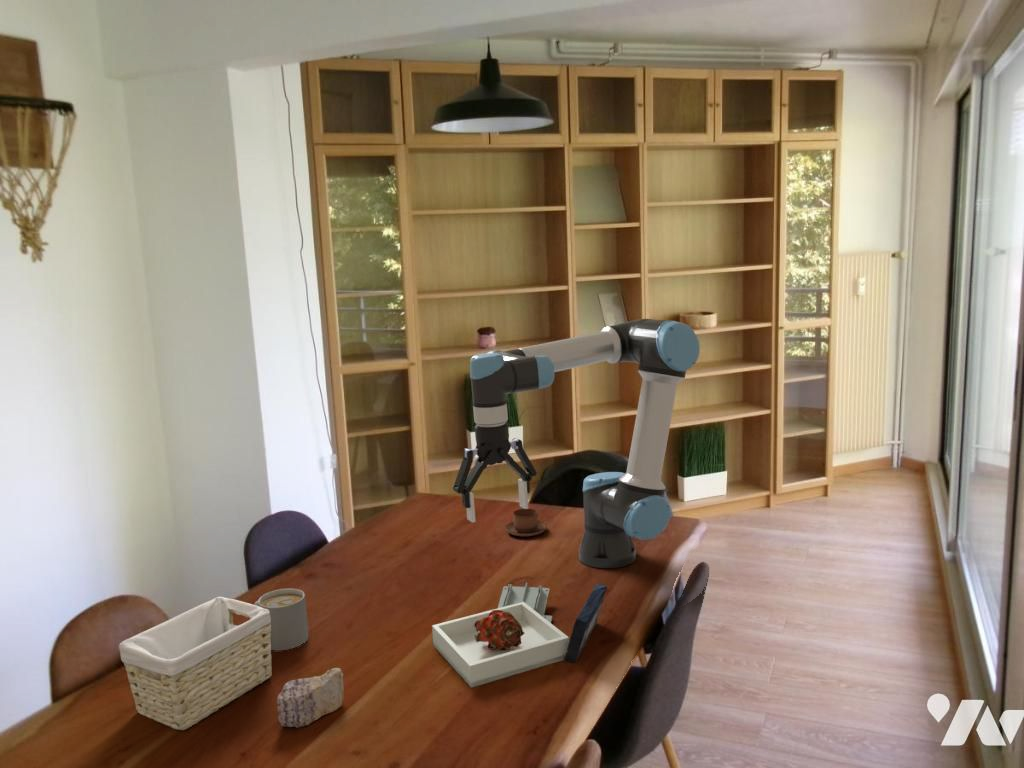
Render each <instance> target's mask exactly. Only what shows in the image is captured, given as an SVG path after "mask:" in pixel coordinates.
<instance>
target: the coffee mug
mask: <svg viewBox="0 0 1024 768" xmlns="http://www.w3.org/2000/svg"><path fill="white" fill-rule="evenodd" d="M253 605H256V606H259V607H262V608H264V609H268V610H269V613H270V618H271V622H270V624H271V632H270V634H271V637H270V644H271V650H284V649H290V648H294V647H297V646H299V647H301V646H302V645H301V644H303V643H304V644H306V641H308V640H309V638H308V637H310V636H309V626H308V616H307V615H308V614H307V603H306V594H305V592H304V591H303V590H301V589H298V588H280V589H275V590H272V591H269V592H266V593H263V595H261V596H260V597H259V599H258V600H256V601H255V602H254V604H253ZM304 644H303V645H304ZM300 645H301V646H300ZM297 648H298V647H297Z"/></svg>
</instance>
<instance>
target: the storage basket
mask: <svg viewBox="0 0 1024 768" xmlns="http://www.w3.org/2000/svg"><path fill="white" fill-rule="evenodd" d="M233 614H236V615H237V616H240V615H241V616H243V617H245V618H249V620H247V621H245V622H243V623H242V624H239V625H237V624H234V622H233V621H234V616H233ZM270 622H271V618H270V613H269V610H268V609H264V608H262V607H259V606H256V605H254V604H252V603H248V602H245V601H241V600H238V599H234V598H228V597H224V596H216V597H214V598H213V599H211V600H209V601H206V602H204V603H201V604H200V605H197V606H195V607H193V608H191V609H188V610H186V611H185V612H183V613H180V614H178V615H176V616H174V617H173V618H170V619H168V620H166V621H164V622H162V623H159V624H157V625H155V626H153V627H151V628H149V629H147V630H144V631H142V632H140V633H137V634H135V635H134V636H131V637H128V638H127V639H124V640H122V642H120V643H119V646H118V648H119V653H120V660H121V661H122V663H123V664H124V667H125V671H126V672H127V673H126V674H127V679H128V683H129V684H130V685H129V686H130V691H131V693H132V697H133V699H134V704H135V709H136V711H137V712H138V714H140V715H141V716H145V717H147V718H148V719H151V720H154V721H155V722H158V723H160V724H163V725H165V726H167V727H170V728H171V729H174V730H179V731H185V730H188V729H189V728H190V727H193V726H194V724H195V725H196V724H198V723H199V722H200V721H202V720H203V719H205V718H207V717H209V716H210V715H211V714H213V713H215V712H217V711H219V710H220V709H221V708H222V707H225V706H226V705H228V704H230V703H231V702H232V701H234V700H235V699H238V698H240V697H241V696H242V695H245V693H247V692H249V691H251V690H252V689H253V688H256V687H257V686H259V684H263V682H265V681H267V680H268V679H269V678H271V676H272V675H273V674H272V654H271V653H272V651H271V644H270V637H271V634H270V632H271V624H270ZM219 708H220V709H219ZM192 725H193V726H192Z"/></svg>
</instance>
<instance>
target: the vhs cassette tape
mask: <svg viewBox="0 0 1024 768" xmlns="http://www.w3.org/2000/svg"><path fill="white" fill-rule="evenodd" d="M607 588H608V585H604V583H599V582H597V583H596V584H595V586H594V587H593V589H592V591H591V593H590V594H589V596H588V598H587V600H586V602H585V603H584V604H583V606H582V608H581V610H580V612H579V614H578V615H577V617H576V619H575V621H574V624H573V628H572V632H571V634H570V637H569V645H568V648H567V652H566V656H565V658H564V660H563V661H565V662H566V663H567V662H568V663H571V664H576V662H577V661H578V659H579V658H580V655H581V654H582V652H583V649H584V647H586V644H587V643H588V640H589V638H590V636H591V635H592V632H593V631H594V629H595V627H596V625H597V623H598V618H599V615H600V613H601V609H602V606H603V602H604V599H605V595H606V592H607Z"/></svg>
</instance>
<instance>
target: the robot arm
mask: <svg viewBox="0 0 1024 768" xmlns="http://www.w3.org/2000/svg"><path fill="white" fill-rule="evenodd" d="M700 346H701V345H700V342H699V338H698V335H697V334H696V333H695V330H694V329H693V328H692V327H691V326H689V325H688V324H686V323H684V322H679V321H676V320H669V319H668V320H664V319H653V318H639V319H634V320H630V321H625V322H622V323H618V324H614V325H608V326H605V327H603V328H602V329H601V331H599V332H594V333H589V334H584V335H580V336H575V337H574V336H573V337H570V338H569V337H568V338H564V339H559V340H555V341H550V342H549V341H548V342H544V343H540V344H535V345H530V346H525V347H519V348H516V349H510V350H503V351H502V350H498V349H497V350H491V351H488V352H487V353H485V352H484V353H478V354H475V355H473V356H472V357H471V358H470V361H469V362H470V363H469V379H470V385H471V386H470V387H471V393H472V394H471V395H472V408H473V409H472V411H473V420H474V421H473V422H474V423H475V425H474V436H475V443H476V446H475V448H467V447H465V448H464V449H463V451H462V453H463V455H462V456H463V458H462V460H461V464H460V467H459V469H458V472H457V475H456V478H455V482H454V483H453V486H452V490H453V492H456V493H458V494H461V500H462V501H461V504H462V506H463V508H465V509H466V520H468V521H469V522H471V523H473V524H474V523H476V510H475V509H476V508H475V507H476V506H475V498H474V496H475V494H474V493H473V492H472V490H473V489H474V486H475V485H476V484H477V482H478V480H479V479H480V477H481V475H482V473H483V471H484V470H486V468H488V466H493V465H495V464H503V463H504V462H505V463H506V465H508V466H509V467H510V468H511V469H512V470H513V471H514V472H515V473H516V474H517V475H518V476H519V477H520V478H518V479H517V485H518V488H517V489H518V502H519V507H520V508H521V509H529V498H528V494H530V492H531V486H530V483H531V481H532V480H533V477H535V476H537V474H538V473H537V470H536V469H535V467H534V465H533V463H532V462H531V460H530V458H529V456H528V455H527V453H526V451H525V449H524V446H523V441H522V440H521V439H519V438H516V437H514V438H512V440H510V439H509V438H510V433H509V432H510V429H509V423H508V422H507V421H508V420H509V416H508V415H509V414H508V404H507V403H508V401H507V395H511V394H514V393H515V394H516V393H523V392H528V391H534V390H535V391H536V390H537V391H540V389H545V388H549V387H550V386H551V385H553V382H554V380H555V373H557V372H562V371H567V370H570V369H575V368H580V367H581V368H582V367H585V366H589V365H595V364H598V363H602V362H607V363H609V364H617V363H624V362H625V363H634V364H638V368H637V372H638V374H639V375H640V376H641V378H642V381H641V386H640V392H639V399H638V403H637V405H638V406H637V410H636V414H635V421H634V427H633V433H632V439H631V445H630V450H629V456H628V461H627V467H626V472H620V471H606V472H599V473H594V474H590V475H587V476H586V477H585V478H584V479H583V483H582V484H583V485H582V493H583V496H582V498H583V519H584V525H583V526H584V532H583V535H582V537H581V541H580V545H579V548H578V559H579V561H580V562H581V563H582V564H584V565H586V566H589V567H593V568H597V569H617V568H618V569H619V568H622V567H626V566H629V565H631V564H633V563H634V562H635V561H636V559H637V554H636V552H637V551H636V547H635V544H634V542H633V539H632V538H635V539H638V540H642V541H648V540H653V539H655V538H657V537H658V535H660V534H662V532H664V531H665V530H666V528H667V526H668V525H669V521H670V519H671V506H670V504H669V502H668V501H667V499H666V498H665V492H666V485H665V484H664V483H663V481H662V473H663V467H664V462H665V455H666V452H667V451H666V450H667V443H668V439H669V434H670V428H671V421H672V417H673V411H674V405H675V399H676V395H677V389H678V388H677V387H678V385H679V384H680V383H681V382H682V381H684V380H685V379H686V374H687V371H689V370H690V369H692V367H694V366H693V365H696V363H697V361H698V360H699V356H700ZM511 449H512V450H514V452H515V454H516V456H517V457H518V459H519V461H520V463H521V464H522V466H523V468H524V469H523V468H522V467H521V466H520V465H519V463H518V462H517V461H516V460H515V459H514V458H513V457H512V456H511V455H510V454H509V452H510V450H511ZM476 456H477V459H476V460H475V462H474V459H475V457H476ZM473 462H474V464H473ZM472 465H473V467H472ZM471 468H472V469H471ZM470 470H471V471H470Z"/></svg>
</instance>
